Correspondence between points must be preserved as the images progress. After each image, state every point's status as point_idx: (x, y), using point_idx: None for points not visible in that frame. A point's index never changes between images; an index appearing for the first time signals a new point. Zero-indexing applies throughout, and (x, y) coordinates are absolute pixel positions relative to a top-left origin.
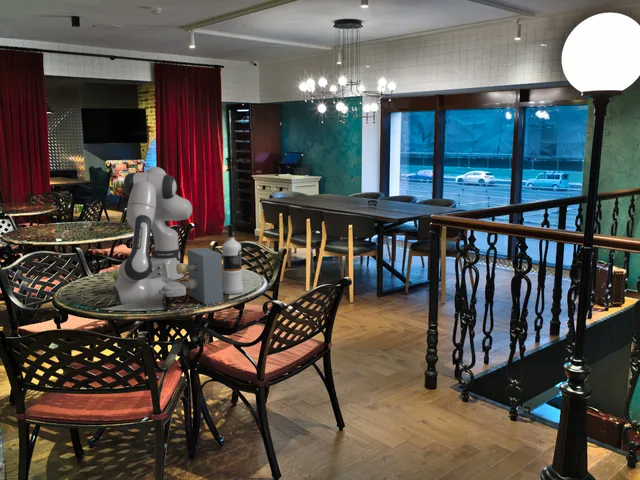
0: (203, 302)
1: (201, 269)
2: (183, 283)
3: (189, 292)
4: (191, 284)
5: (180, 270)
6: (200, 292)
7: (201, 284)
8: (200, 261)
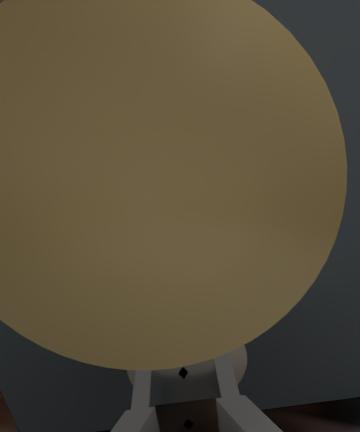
0: (342, 392)
1: (357, 110)
2: (152, 426)
3: (20, 424)
4: (243, 345)
5: (324, 203)
6: (285, 346)
7: (323, 273)
8: (344, 2)
